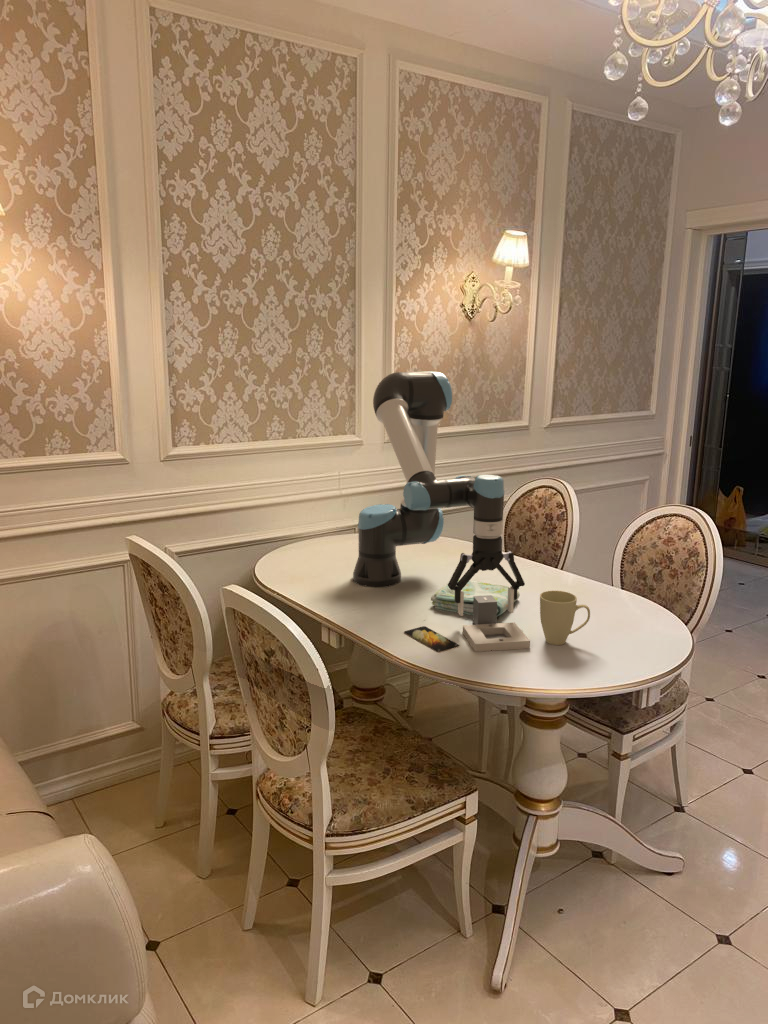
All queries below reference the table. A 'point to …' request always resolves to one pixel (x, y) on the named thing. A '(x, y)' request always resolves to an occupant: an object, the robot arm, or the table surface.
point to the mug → (559, 615)
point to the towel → (471, 597)
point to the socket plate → (495, 637)
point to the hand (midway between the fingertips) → (485, 612)
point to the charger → (484, 610)
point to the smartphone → (431, 639)
